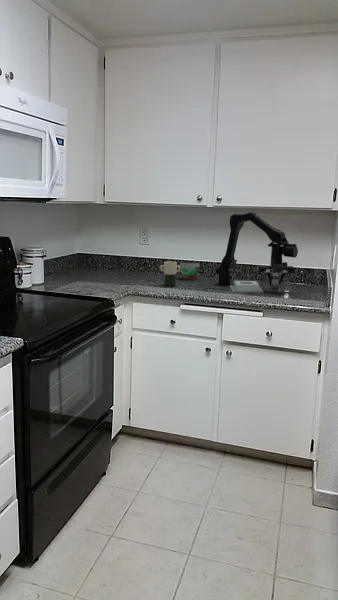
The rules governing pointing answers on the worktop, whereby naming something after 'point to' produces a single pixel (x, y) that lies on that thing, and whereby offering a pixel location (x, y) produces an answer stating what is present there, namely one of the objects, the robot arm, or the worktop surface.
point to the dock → (246, 287)
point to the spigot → (274, 281)
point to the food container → (189, 271)
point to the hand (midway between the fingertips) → (274, 285)
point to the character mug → (170, 272)
